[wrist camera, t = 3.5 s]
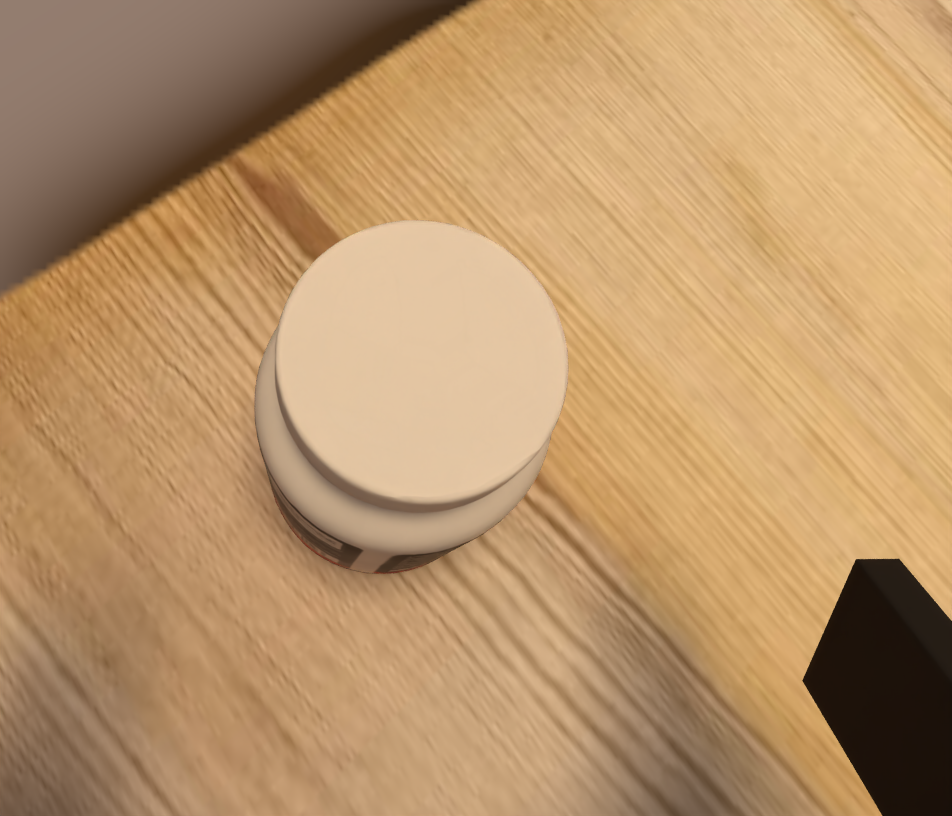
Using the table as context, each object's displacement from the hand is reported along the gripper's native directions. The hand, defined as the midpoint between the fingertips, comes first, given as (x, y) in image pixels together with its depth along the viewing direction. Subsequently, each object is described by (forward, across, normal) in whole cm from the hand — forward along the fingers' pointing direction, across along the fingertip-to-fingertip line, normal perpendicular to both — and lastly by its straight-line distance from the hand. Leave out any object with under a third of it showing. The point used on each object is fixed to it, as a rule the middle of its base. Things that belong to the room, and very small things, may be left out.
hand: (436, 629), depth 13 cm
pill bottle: (+10, 0, -4) cm, 11 cm away
